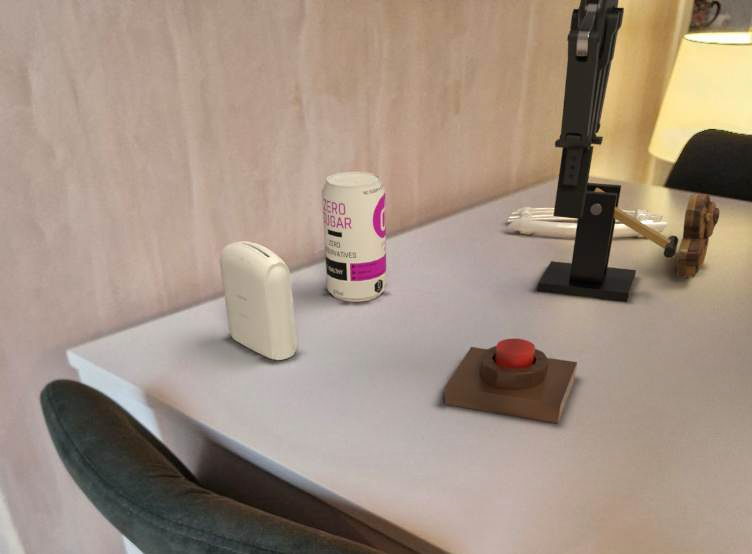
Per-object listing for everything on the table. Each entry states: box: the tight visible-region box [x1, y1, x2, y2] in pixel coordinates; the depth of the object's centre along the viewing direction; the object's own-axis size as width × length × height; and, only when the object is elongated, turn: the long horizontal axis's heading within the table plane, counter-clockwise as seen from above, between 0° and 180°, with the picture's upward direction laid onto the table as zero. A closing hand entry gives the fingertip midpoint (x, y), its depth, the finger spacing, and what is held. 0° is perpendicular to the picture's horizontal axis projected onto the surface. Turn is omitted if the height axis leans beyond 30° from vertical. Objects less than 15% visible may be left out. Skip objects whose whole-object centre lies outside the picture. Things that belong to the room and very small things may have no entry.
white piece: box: [506, 206, 668, 239], centre depth 125 cm, size 3×10×25 cm
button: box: [495, 338, 536, 369], centre depth 80 cm, size 4×4×2 cm
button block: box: [444, 345, 578, 424], centre depth 82 cm, size 12×10×4 cm
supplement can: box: [321, 171, 387, 303], centre depth 102 cm, size 8×8×15 cm
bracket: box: [537, 182, 637, 302], centre depth 103 cm, size 12×9×13 cm
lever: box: [594, 188, 679, 259], centre depth 100 cm, size 13×5×2 cm, turn 68°
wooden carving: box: [676, 193, 720, 278], centre depth 108 cm, size 16×5×10 cm, turn 160°
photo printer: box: [219, 240, 298, 361], centre depth 90 cm, size 10×4×12 cm, turn 41°
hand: (568, 215), depth 78 cm, fingers closed
